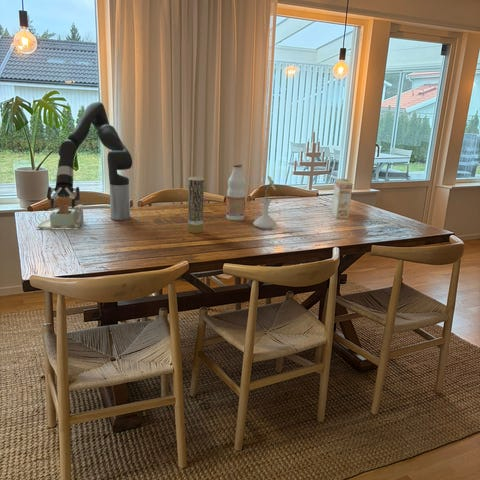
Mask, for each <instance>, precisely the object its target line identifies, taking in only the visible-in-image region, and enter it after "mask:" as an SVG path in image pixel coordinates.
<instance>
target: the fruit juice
mask: <svg viewBox="0 0 480 480" xmlns="http://www.w3.org/2000/svg"><path fill="white" fill-rule="evenodd" d="M227 184H228V185H227V187H228V188H227V191H226V212H225V215H226V216H225V217H226V219H227V220H229V221H242V220H245V211H246V185H247V181H246V178H245V176H244V173H243V164H241V163H233V164H232V172H231V174H230V177H228V180H227Z"/></svg>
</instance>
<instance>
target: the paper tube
mask: <svg viewBox="0 0 480 480" xmlns="http://www.w3.org/2000/svg"><path fill="white" fill-rule="evenodd" d="M204 186H205V177H202V176H189V177H188V204H187V205H188V206H187V207H188V209H187V212H188V213H187V214H188V215H187V218H188V219H187V231H188V232H189V233H190V234H191V233H192V234H199V233H200V232H201V233H203V231H204V199H205V198H204V194H205V187H204Z"/></svg>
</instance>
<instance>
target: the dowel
mask: <svg viewBox="0 0 480 480" xmlns="http://www.w3.org/2000/svg"><path fill="white" fill-rule="evenodd" d="M58 209H59V214H69V211H68V209H69V204H67V203H60V204H58Z"/></svg>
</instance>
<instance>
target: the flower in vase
mask: <svg viewBox="0 0 480 480" xmlns="http://www.w3.org/2000/svg"><path fill="white" fill-rule="evenodd" d="M267 179H268V182H269V184H268V186H267V188H266V189H265V191H264V192H265V195H264V197H265V198H262V199H261V201H262V205H263V213H262V215H260V216H258V218H256V219H255V220H254V221H253V225H254V226H255V227H257V228H260V229H274V228H276V226H277V222H276V221H275V220H274V219H273V218H272V217H271V216H270V215H269V208H270V207H269V206H270V204H271V202H272V199H270V198H268V196H270V195H271V194H270V193H269V192H268V193H267V191H268V189H269V187H270V186H271V188H272V189H273V190H274V191H277V188H276V185H275V184H274V180H272V177H271V176H270V175H268V176H267Z"/></svg>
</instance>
